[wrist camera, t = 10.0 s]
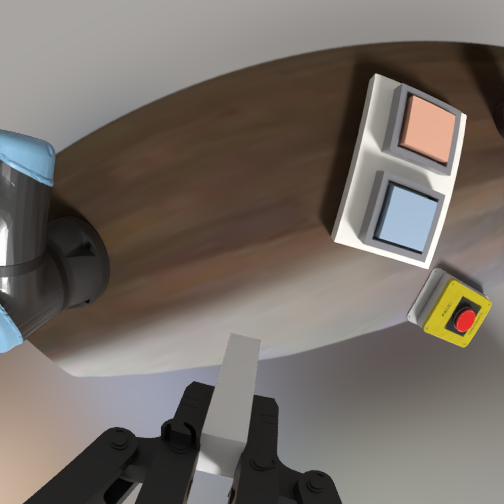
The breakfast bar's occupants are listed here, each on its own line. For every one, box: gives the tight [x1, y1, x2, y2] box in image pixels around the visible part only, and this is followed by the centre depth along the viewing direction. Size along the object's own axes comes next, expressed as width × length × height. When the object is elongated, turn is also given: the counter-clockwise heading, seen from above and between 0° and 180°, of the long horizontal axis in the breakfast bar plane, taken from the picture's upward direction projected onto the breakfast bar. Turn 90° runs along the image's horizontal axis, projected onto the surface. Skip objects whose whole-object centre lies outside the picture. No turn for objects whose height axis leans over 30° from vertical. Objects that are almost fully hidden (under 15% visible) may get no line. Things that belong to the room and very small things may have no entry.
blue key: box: [374, 185, 438, 252], centre depth 31 cm, size 6×6×2 cm
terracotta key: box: [398, 96, 456, 162], centre depth 28 cm, size 6×6×2 cm
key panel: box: [331, 74, 467, 269], centre depth 32 cm, size 14×22×6 cm, turn 167°
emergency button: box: [407, 268, 491, 347], centre depth 37 cm, size 9×4×15 cm
